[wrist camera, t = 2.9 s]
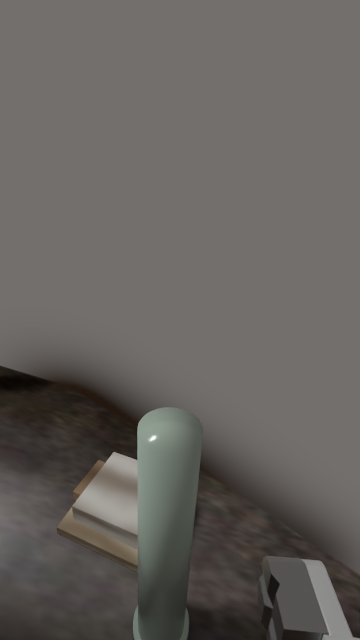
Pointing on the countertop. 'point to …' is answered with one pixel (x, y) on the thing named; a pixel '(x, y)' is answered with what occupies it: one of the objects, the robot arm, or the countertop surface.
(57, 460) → the countertop surface
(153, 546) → the sage vase
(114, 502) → the stand
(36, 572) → the countertop surface
